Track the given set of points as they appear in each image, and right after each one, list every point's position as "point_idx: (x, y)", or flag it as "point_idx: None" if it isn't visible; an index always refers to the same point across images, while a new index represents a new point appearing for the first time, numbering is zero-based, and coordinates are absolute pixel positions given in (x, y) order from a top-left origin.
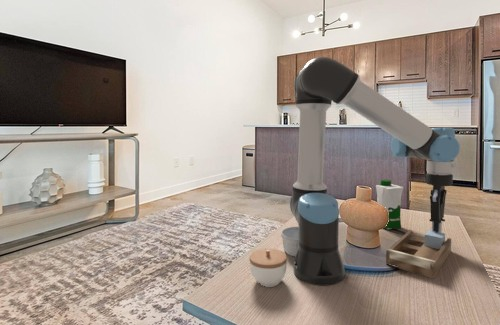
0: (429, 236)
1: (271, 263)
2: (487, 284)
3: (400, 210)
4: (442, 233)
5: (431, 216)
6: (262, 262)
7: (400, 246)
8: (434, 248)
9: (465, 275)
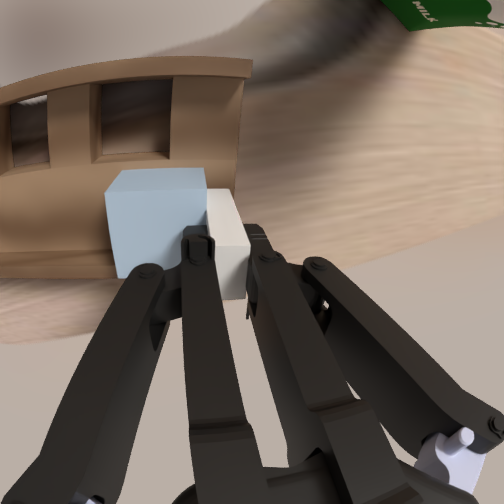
0: (109, 216)
1: None
2: (58, 337)
3: (477, 23)
4: None
5: (117, 303)
6: None
7: (25, 97)
8: None
9: (58, 302)
